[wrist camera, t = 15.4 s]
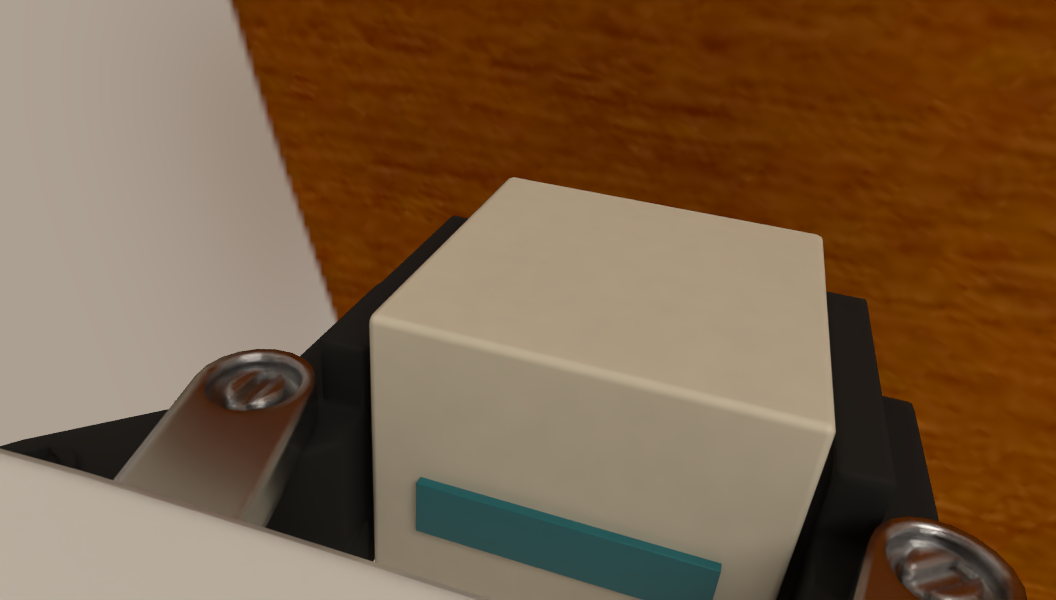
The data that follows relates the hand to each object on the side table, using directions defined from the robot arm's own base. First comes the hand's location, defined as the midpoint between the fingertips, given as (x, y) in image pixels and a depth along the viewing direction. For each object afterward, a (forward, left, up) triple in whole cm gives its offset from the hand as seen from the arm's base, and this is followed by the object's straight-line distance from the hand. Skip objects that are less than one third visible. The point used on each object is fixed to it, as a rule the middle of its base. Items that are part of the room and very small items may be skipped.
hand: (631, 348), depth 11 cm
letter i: (0, 0, 0) cm, 0 cm away
